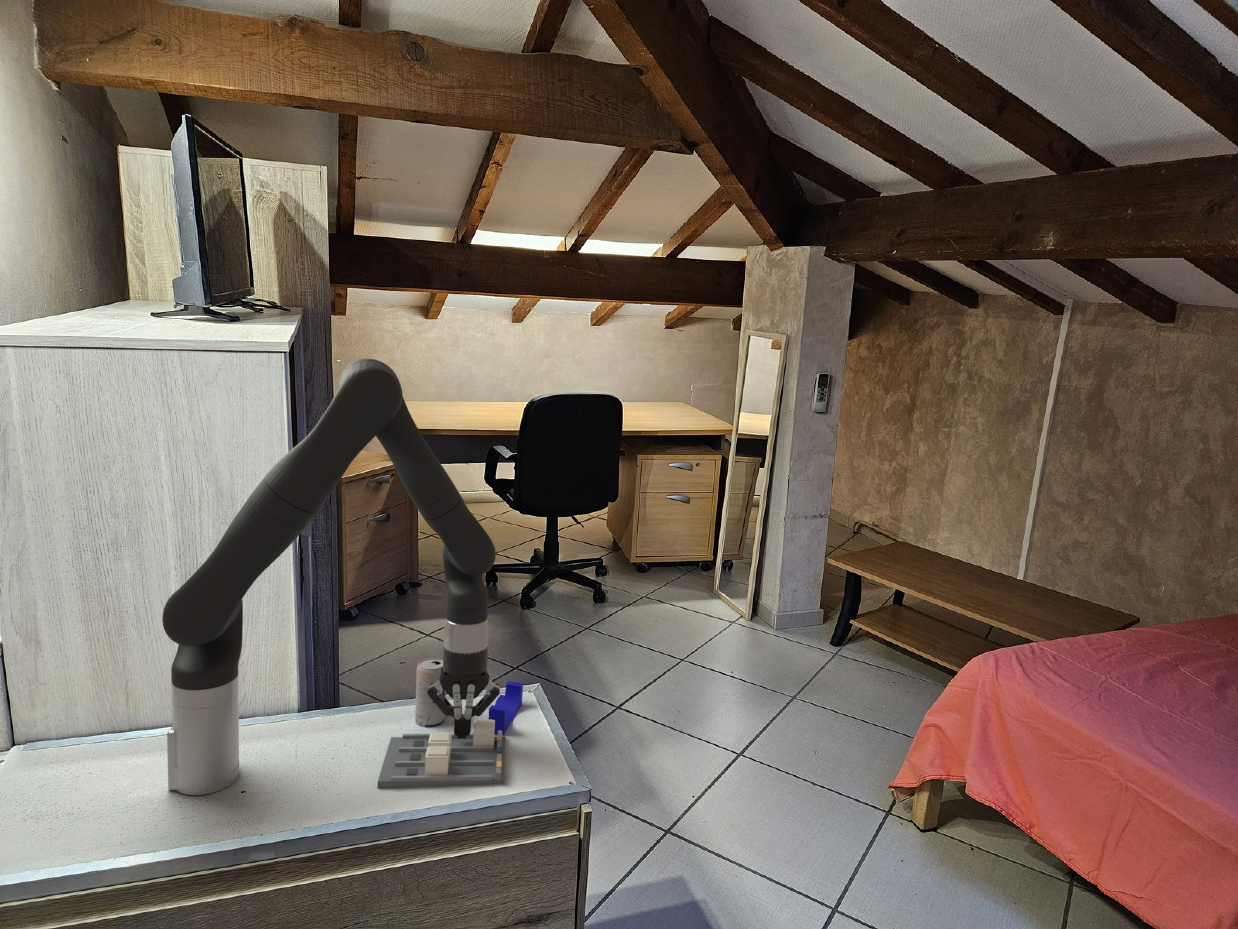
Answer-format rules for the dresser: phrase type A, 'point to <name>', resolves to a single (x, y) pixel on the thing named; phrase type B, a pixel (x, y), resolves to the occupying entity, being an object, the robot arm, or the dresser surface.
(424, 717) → the energy drink
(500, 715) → the cable clip
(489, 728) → the tab far
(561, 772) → the dresser surface
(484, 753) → the switch bank
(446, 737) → the tab mid
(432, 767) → the tab near
